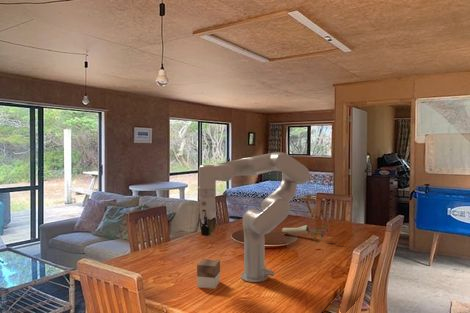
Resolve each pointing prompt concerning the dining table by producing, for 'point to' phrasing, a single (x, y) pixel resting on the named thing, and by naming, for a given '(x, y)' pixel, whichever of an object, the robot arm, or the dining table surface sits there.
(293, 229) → the flower vase
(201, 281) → the cream block
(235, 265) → the dining table surface
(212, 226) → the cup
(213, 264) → the walnut block
